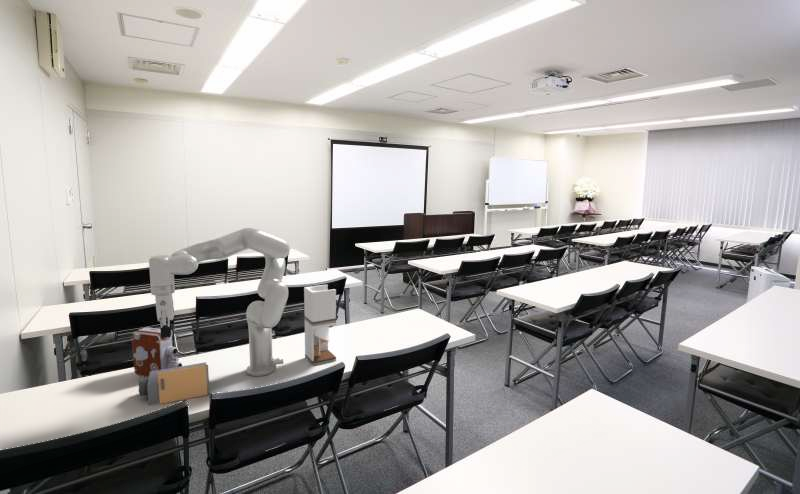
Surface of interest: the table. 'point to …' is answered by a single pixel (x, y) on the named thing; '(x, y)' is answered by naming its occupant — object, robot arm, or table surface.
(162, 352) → the red printed upright box
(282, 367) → the table surface
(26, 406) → the table surface
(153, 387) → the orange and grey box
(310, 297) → the display case
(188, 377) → the side door
